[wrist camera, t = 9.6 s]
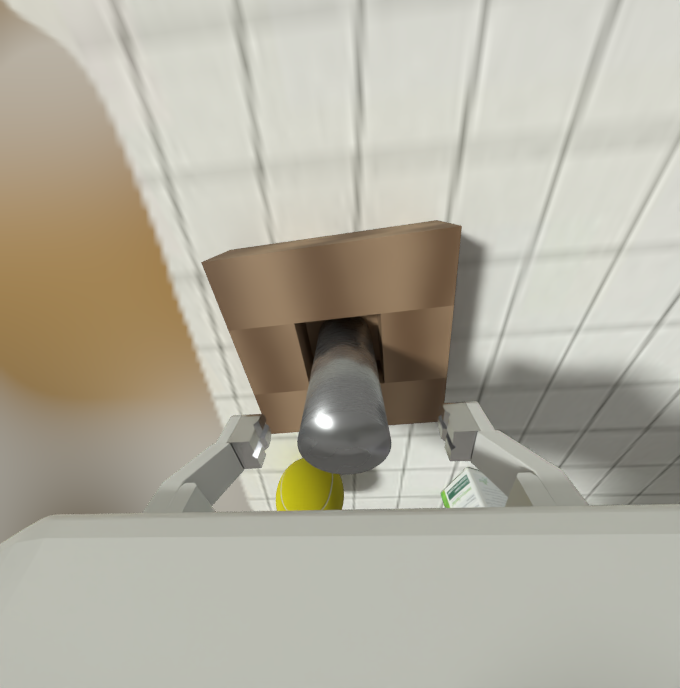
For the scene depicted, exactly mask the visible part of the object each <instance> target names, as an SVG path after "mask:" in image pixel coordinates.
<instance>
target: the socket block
mask: <svg viewBox="0 0 680 688" xmlns="http://www.w3.org/2000/svg"><path fill="white" fill-rule="evenodd" d="M461 229H462V226H460V225H455V224H451V223H446V222H442V221H438V220H436V221H429V222H422V223H415V224H408V225H401V226H394V227H387V228H380V229H373V230H366V231H359V232H352V233H346V234H339V235H332V236H325V237H318V238H311V239H304V240H297V241H290V242H283V243H276V244H269V245H262V246H255V247H248V248H241V249H234V250H229V251H227V252H225V253H222V254H220V255H218V256H215V257H213V258H211V259H208V260H206V261H204V262H201V263H202V265H203V268H204V270H205V273H206V275H207V278H208V280H209V283H210V285H211V288H212V290H213V293H214V295H215V298H216V300H217V303H218V305H219V308H220V310H221V313H222V315H223V318H224V320H225V323H226V325H227V328H228V330H229V333H230V335H231V338H232V340H233V343H234V345H235V348H236V350H237V353H238V355H239V358H240V360H241V363H242V365H243V368H244V370H245V373H246V375H247V378H248V380H249V383H250V385H251V388H252V390H253V393H254V395H255V398H256V400H257V403H258V405H259V408H260V410H261V413H262V414H263V415H265V417H266V419H267V420H266V424H267V425H268V426H269V427H270V430H271V434H276V433H290V432H299V430H300V426H301V421H302V416H303V411H304V406H305V401H306V396H307V391H308V386H309V381H310V376H311V371H312V366H313V361H314V356H315V351H316V346H317V341H318V336H319V331H320V328H321V326H322V324H323V322H324V321H325V320H330V319H338V318H347V317H356V316H359V317H361V318H362V319H363V320H364V321H365V322H366V323H367V324H368V326H369V329H370V333H371V338H372V343H373V349H374V354H375V359H376V364H377V370H378V375H379V380H380V385H381V390H382V396H383V401H384V406H385V411H386V416H387V422H388V425H398V424H412V423H426V422H438V417H439V416H440V415H441V414H440V411H439V405H440V403H444V400H445V390H446V380H447V370H448V360H449V350H450V340H451V330H452V319H453V309H454V299H455V289H456V279H457V269H458V259H459V249H460V239H461Z"/></svg>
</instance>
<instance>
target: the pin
mask: <svg viewBox="0 0 680 688" xmlns="http://www.w3.org/2000/svg"><path fill="white" fill-rule="evenodd" d="M297 442H298V449H299V452H300V454H301V455H302V457H303V458H304V459H305V460H306V461H307V462H308V463H309V464H311V465H312V466H314V467H316V468H317V469H320V470H322V471H325V472H329V473H334V474H357V473H361V472H365V471H368V470H370V469H372V468H374V467H376V466H378V465H379V464H380V463H382V462H383V461H384V460H385V459H386V457H387V456H388V454H389V452H390V449H391V437H390V432H389V427H388V422H387V416H386V411H385V406H384V401H383V396H382V390H381V385H380V380H379V375H378V370H377V364H376V359H375V354H374V349H373V343H372V338H371V333H370V329H369V326H368V324H367V323H366V322H365V321H364V320H363V319H362V318H361V317H359V316H356V317H347V318H338V319H330V320H325V321H324V322H323V324H322V326H321V328H320V331H319V336H318V341H317V346H316V351H315V356H314V361H313V366H312V371H311V376H310V381H309V386H308V391H307V396H306V401H305V406H304V411H303V416H302V421H301V426H300V430H299V435H298V441H297Z"/></svg>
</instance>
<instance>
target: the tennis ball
mask: <svg viewBox="0 0 680 688" xmlns="http://www.w3.org/2000/svg"><path fill="white" fill-rule="evenodd" d="M343 501H344V489H343V483H342V480H341V477H340V475H339V474H334V473H329V472H325V471H322V470H320V469H317V468H316V467H314V466H312V465H311V464H309V463H308V462H307V461H306V460H305V459H304V458H303V459H300V460H297V461H295V462H294V463H293V464H291V465H290V466H289V467H288V468H287V469H286V470H285V472H284V473H283V475H282V477H281V479H280V481H279V484H278V487H277V492H276V508H277V511H302V510H342V506H343Z"/></svg>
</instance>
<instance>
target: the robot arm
mask: <svg viewBox="0 0 680 688" xmlns="http://www.w3.org/2000/svg"><path fill="white" fill-rule="evenodd" d="M439 411H440V414H441V415H440V416H439V417H438V429H439V433H440V436H441V439H443V440H444V441H445V450H446V452H447V455H448V458H449V460H450V461H471V463H473V464H474V465H475V466H476V467H477V468H478V469H479V470H480V471H481V472H482V473H483V474H484V475H485V476H486V477H487V478H488V479H489V480H490V481H491V482H493V483H494V484H495V485H496V486H497V487H498V488H499V489H500V490H501V491H502V492H503V493H504V494H505V495H506V496H507V497H508V500H507V502H506V505H505V507H472V508H415V509H359V510H302V511H244V512H216V511H215V510H214V508H213V507H212V505H213V504H214V503H215V502H216V501H217V500H218V499H219V497H220V496H221V495H222V494H223V493H224V492H225V491H226V490H227V488H228V487H229V486H230V485H231V484H232V483H233V482H234V481H235V480H236V478H237V477H238V476H239V475H240V474H241V473H242V472H243V471H244V469H252V468H262V465H263V462H264V459H265V456H266V453H265V451H264V450H266V449H267V448H268V447H269V444H270V441H271V430H270V427H269V426H268V425H267V424H265V423H266V420H267V419H266V417H265V415H263V414H254V415H233V416H232V417H230V419H229V421H228V423H227V424H226V426H225V428H224V430H223V431H222V433H221V435H220V437H219V439H218V440H217V442H216V444H212V445H211V446H209V447H208V448H207V449H205V450H204V451H203V452H202V453H201V454H199V455H198V456H196V457H195V458H194V459H192V460H191V461H190V462H189V463H187V464H186V465H185V466H183V467H182V468H181V469H179V470H178V471H177V472H176V473H175V474H173V475H172V476H171V477H169V478H168V479H167V480H165V481H164V482H163V483H162V484H161V486H160V487H159V489H158V490H157V492H156V493H155V495H154V496H153V498H152V499H151V500H150V502H149V503H148V505H147V507H146V508H145V509H144V511H143V512H142V513H126V514H125V513H124V514H58V515H51V516H48V517H45V518H42V519H41V520H39V521H37V522H36V523H34V524H32V525H30V526H28V527H27V528H25V529H23V530H21V531H20V532H18V533H17V534H15V535H14V536H12V537H10V538H9V539H7V540H5V541H4V542H2V543H1V544H0V688H680V504H645V505H589V504H588V503H587V502H586V501H585V499H584V498H583V497H582V495H581V494H580V493H579V491H578V490H577V489H576V488H575V486H574V485H573V484H572V482H571V481H570V480H569V478H568V477H567V476H566V474H565V473H564V472H563V471H562V470H561V469H559V468H558V467H556V466H554V465H553V464H551V463H550V462H548V461H547V460H545V459H543V458H542V457H540V456H539V455H537V454H536V453H534V452H532V451H531V450H529V449H528V448H526V447H525V446H523V445H521V444H520V443H518V442H517V441H515V440H513V439H512V438H510V437H509V436H507V435H506V434H504V433H502V432H501V431H499V430H495V429H494V427H493V426H492V424H491V423H490V421H489V419H488V418H487V416H486V414H485V413H484V411H483V410H482V408H481V406H480V405H479V403H478V402H477V401H469V402H455V403H440V405H439Z"/></svg>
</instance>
